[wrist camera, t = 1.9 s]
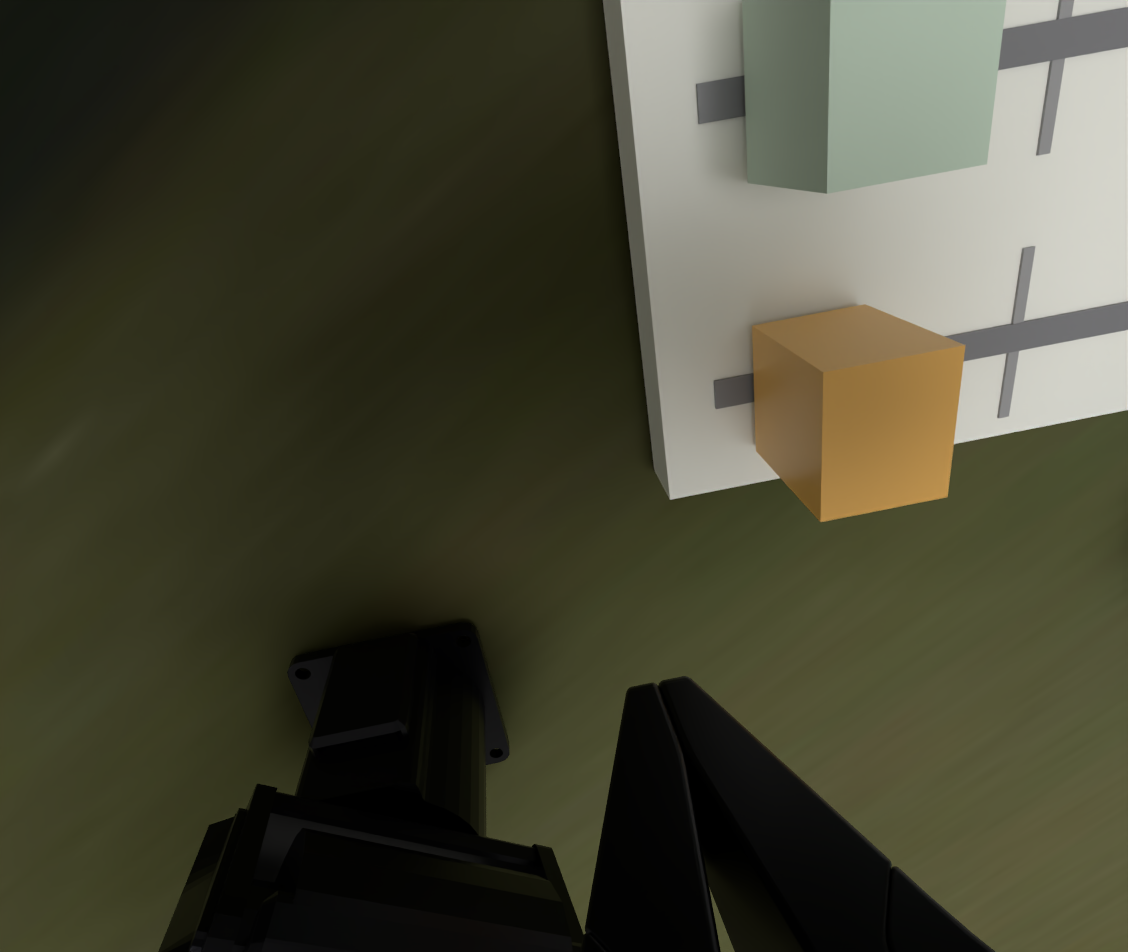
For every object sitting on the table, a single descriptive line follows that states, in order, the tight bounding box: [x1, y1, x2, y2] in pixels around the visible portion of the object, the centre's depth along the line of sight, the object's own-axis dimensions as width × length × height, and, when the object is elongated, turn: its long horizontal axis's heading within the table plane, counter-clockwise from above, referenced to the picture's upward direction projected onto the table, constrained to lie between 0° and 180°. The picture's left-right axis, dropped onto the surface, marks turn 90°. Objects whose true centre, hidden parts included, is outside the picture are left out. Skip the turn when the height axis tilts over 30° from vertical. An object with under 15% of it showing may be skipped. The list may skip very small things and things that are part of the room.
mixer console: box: [603, 0, 1128, 500], centre depth 18 cm, size 13×20×2 cm, turn 99°
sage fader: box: [742, 0, 1006, 194], centre depth 13 cm, size 4×3×4 cm
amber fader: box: [752, 304, 965, 522], centre depth 16 cm, size 4×3×4 cm
